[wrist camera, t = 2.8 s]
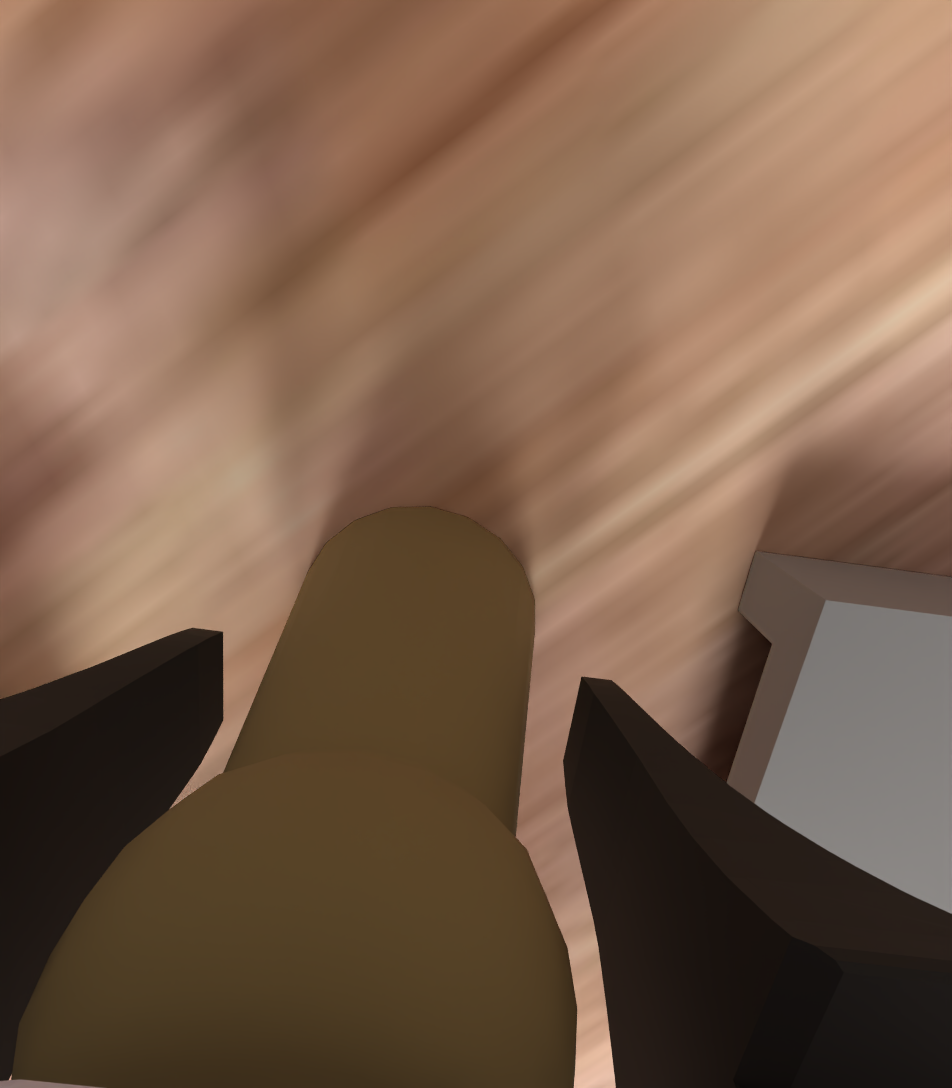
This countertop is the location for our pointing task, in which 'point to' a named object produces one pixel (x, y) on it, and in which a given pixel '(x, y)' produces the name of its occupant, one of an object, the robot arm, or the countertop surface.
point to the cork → (339, 858)
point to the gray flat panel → (854, 715)
